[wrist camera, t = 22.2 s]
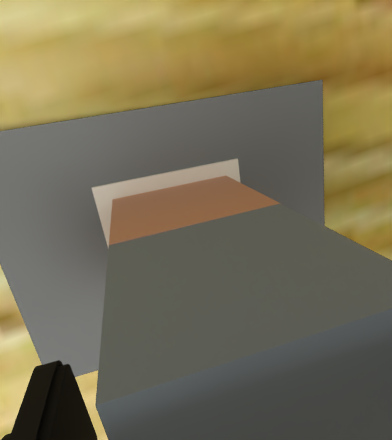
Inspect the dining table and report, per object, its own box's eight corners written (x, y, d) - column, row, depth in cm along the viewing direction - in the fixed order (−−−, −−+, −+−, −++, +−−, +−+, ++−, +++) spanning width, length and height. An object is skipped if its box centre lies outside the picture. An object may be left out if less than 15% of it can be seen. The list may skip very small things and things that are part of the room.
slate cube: (280, 203, 11) (448, 289, 5) (290, 339, 13) (420, 504, 7) (108, 245, 10) (95, 406, 4) (149, 385, 12) (176, 616, 6)
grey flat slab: (309, 82, 17) (324, 79, 16) (315, 293, 22) (327, 304, 21) (-39, 137, 14) (-54, 139, 13) (54, 368, 19) (49, 387, 18)
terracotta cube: (225, 175, 16) (280, 203, 11) (238, 273, 18) (289, 339, 13) (112, 199, 15) (108, 243, 10) (139, 300, 17) (148, 384, 12)
